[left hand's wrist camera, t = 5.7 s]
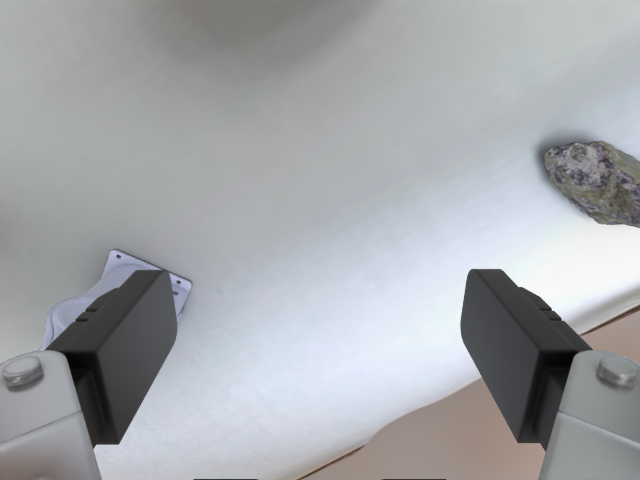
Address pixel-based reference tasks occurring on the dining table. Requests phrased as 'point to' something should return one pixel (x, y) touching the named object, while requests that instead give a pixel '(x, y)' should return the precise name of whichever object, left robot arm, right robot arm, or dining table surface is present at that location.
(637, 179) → the mineral rock
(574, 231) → the dining table surface
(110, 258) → the right robot arm
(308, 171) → the dining table surface
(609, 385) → the left robot arm
